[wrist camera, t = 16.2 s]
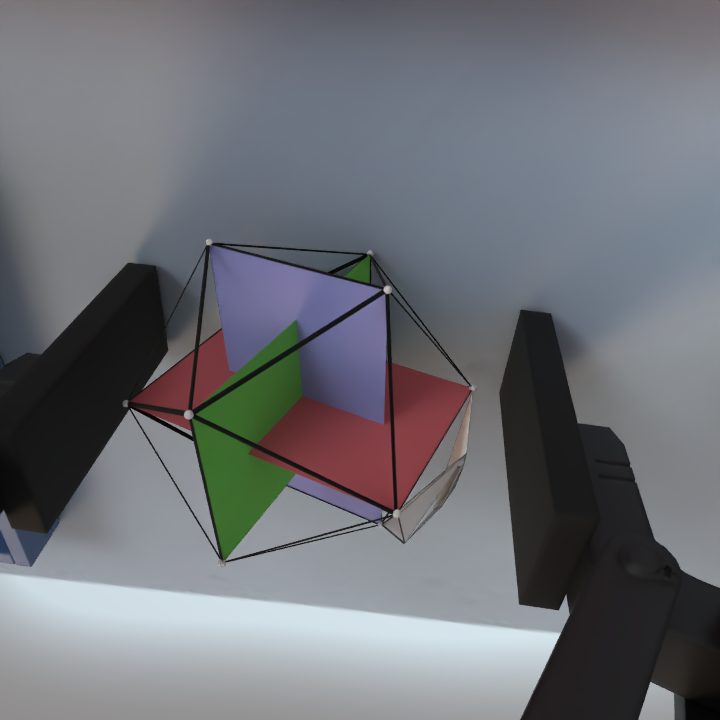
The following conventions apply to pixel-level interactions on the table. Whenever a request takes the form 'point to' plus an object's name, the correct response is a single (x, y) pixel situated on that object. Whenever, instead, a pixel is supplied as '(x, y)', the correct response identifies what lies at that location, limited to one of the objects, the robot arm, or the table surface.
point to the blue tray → (21, 540)
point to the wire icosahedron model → (306, 399)
